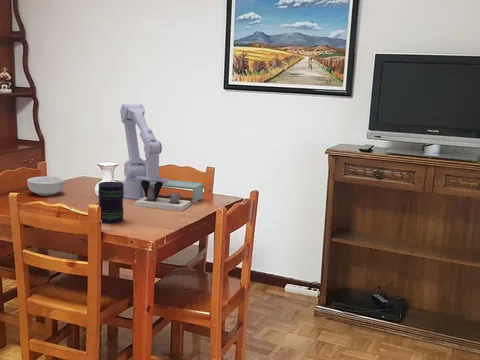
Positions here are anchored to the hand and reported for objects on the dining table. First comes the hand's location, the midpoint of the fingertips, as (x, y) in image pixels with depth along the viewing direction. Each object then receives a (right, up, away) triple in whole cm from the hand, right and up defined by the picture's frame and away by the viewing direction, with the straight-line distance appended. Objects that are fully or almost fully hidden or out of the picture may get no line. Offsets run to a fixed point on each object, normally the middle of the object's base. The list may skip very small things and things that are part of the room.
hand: (151, 197), depth 257 cm
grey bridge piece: (+9, 0, +13) cm, 15 cm away
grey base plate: (+5, -4, -1) cm, 6 cm away
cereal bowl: (-52, +1, +11) cm, 53 cm away
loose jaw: (0, -1, 0) cm, 1 cm away
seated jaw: (+10, -4, -2) cm, 11 cm away
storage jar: (-12, -8, -30) cm, 33 cm away
